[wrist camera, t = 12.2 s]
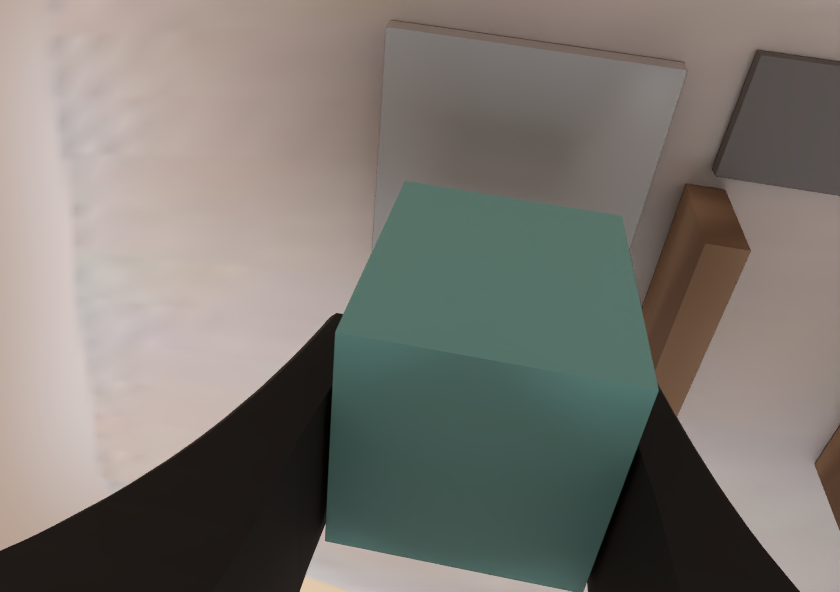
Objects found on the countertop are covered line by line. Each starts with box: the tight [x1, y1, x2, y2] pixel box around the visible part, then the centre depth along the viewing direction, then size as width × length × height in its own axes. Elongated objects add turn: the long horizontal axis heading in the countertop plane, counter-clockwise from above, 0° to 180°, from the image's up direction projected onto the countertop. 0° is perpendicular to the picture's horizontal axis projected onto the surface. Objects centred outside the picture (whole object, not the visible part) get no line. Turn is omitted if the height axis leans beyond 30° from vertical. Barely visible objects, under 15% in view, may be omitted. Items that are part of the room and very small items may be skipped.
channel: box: [642, 184, 840, 530], centre depth 19 cm, size 8×9×3 cm
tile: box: [372, 20, 687, 251], centre depth 18 cm, size 7×7×1 cm
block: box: [325, 181, 659, 592], centre depth 12 cm, size 4×4×5 cm
